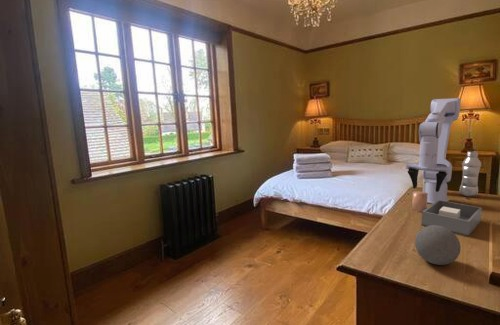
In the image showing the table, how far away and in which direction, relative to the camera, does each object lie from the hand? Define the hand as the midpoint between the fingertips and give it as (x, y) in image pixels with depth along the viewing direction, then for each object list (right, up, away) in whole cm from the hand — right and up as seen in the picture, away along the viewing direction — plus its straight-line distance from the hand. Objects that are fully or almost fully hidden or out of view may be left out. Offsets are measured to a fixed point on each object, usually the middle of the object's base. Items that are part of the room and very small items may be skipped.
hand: (425, 189), depth 109 cm
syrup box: (+19, -4, +27) cm, 33 cm away
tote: (+3, -11, -9) cm, 15 cm away
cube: (+1, -11, -11) cm, 15 cm away
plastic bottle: (+31, -5, +19) cm, 37 cm away
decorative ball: (-18, -16, -33) cm, 41 cm away
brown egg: (0, -9, +5) cm, 10 cm away
